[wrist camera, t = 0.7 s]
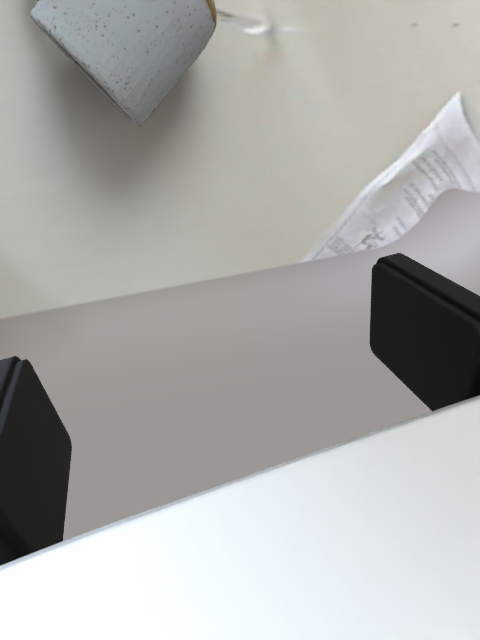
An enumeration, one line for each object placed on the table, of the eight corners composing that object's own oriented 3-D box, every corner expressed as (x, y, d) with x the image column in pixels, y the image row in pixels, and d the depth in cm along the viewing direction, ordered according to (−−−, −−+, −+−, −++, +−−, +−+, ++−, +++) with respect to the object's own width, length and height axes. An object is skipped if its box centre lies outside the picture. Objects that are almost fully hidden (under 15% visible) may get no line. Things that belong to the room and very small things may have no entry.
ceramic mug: (211, 32, 28) (242, 15, 21) (133, 125, 29) (141, 134, 23) (76, -143, 22) (64, -238, 16) (-12, -19, 24) (-56, -59, 17)
